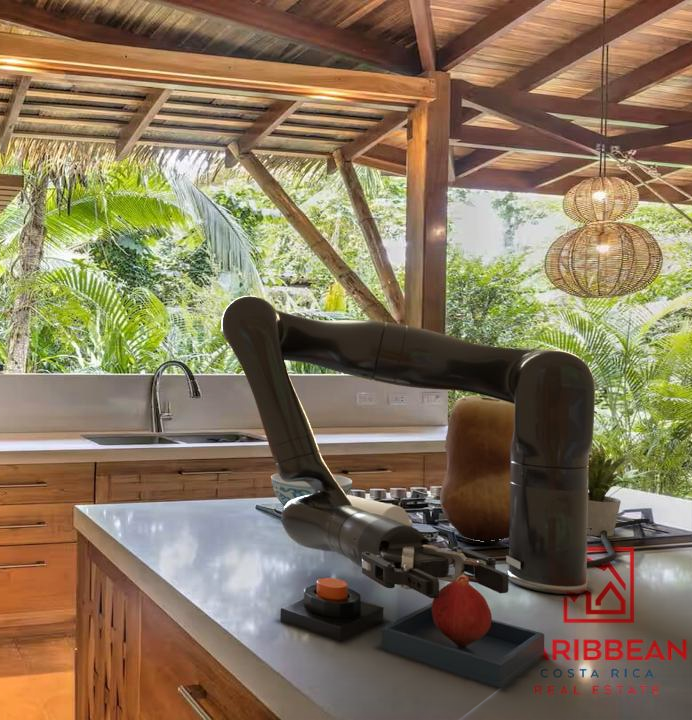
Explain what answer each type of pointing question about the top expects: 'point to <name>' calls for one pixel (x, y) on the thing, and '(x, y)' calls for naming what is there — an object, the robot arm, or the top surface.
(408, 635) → the tray
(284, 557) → the top surface
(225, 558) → the top surface
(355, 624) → the panel
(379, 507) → the mug
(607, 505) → the house plant
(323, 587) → the button
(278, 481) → the chinaware
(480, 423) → the butternut squash
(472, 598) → the onion
